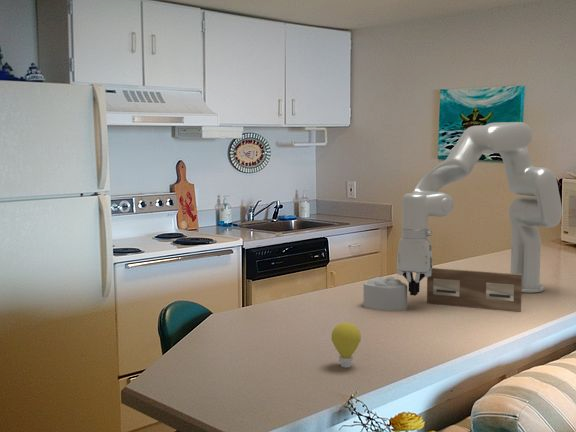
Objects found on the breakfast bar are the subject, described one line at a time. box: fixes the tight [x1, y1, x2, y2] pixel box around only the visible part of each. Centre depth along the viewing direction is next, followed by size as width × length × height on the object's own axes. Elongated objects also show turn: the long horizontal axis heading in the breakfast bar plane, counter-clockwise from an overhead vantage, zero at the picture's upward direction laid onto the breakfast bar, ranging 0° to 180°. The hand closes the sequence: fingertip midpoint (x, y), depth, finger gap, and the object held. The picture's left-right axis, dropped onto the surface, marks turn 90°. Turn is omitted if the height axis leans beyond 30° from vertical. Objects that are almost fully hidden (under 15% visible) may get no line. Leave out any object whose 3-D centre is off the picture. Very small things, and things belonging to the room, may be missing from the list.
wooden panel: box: [426, 267, 522, 313], centre depth 212 cm, size 2×28×11 cm, turn 66°
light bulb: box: [330, 321, 362, 369], centre depth 157 cm, size 7×7×10 cm
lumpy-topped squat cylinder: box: [363, 276, 408, 312], centre depth 213 cm, size 10×13×9 cm
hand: (413, 294), depth 209 cm, fingers closed
